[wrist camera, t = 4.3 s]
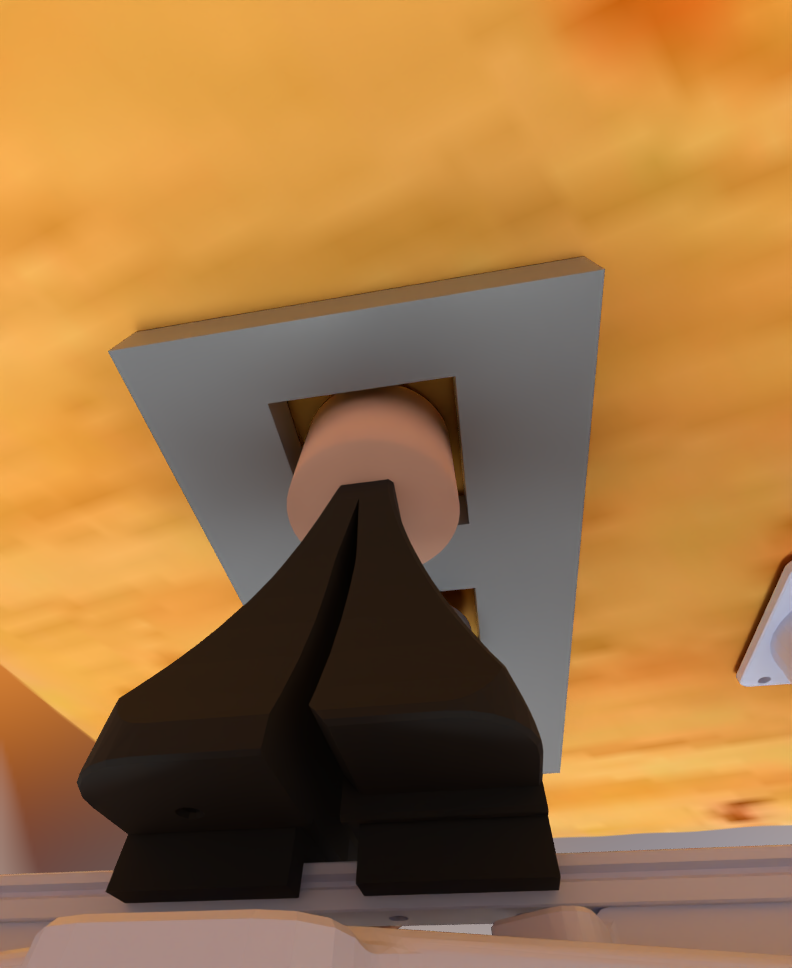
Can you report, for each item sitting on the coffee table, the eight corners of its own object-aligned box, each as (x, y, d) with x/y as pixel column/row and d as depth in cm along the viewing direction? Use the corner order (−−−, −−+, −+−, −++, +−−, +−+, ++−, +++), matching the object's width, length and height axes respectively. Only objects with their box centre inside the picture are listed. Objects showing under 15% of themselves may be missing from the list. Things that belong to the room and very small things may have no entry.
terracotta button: (441, 371, 13) (451, 428, 10) (455, 496, 16) (465, 566, 13) (290, 394, 14) (262, 453, 11) (327, 511, 16) (312, 581, 13)
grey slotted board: (584, 256, 12) (604, 269, 10) (552, 743, 26) (559, 772, 25) (135, 331, 13) (107, 351, 12) (341, 756, 27) (339, 784, 26)
